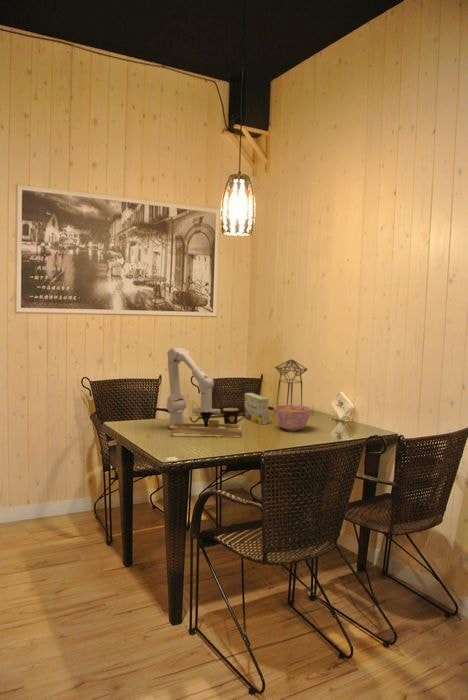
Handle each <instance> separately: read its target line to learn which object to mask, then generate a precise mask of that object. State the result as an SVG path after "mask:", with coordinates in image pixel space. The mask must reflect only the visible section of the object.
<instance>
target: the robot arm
mask: <svg viewBox="0 0 468 700" xmlns="http://www.w3.org/2000/svg"><path fill="white" fill-rule="evenodd" d="M181 362H184V364H185V365H186V366H187V367H188V369H189V370H191V375H192V376H193V378H194V379H195V380H196V381H197V383H198V388H199V392H200V408H192V409H191V412H192V414H200V416H201V418H202V421H203V424H204V425H205V427H207V426H208V424H209V420H210V418H211V416H212V414H218V415H219V414H221V409H220V408H212V407H213V406H212V405H213V403H212V402H213V399H212V398H213V395H212V393H213V387H215V381H214V380H215V379H214V378H213V377H211V376H208V374H207V373H206V372H205V371H204V369H203V368H202V367H200V366H197V364H196V363H195V361H194V360H193V358H192V357H191V355H190V351H189V350H188V348H187V347H184V346H183V347H171V348H170V349H169V350H168V351H167V368H168V369H167V370H168V380H169V391H170V395H169V396H168V397H167V399H166V409H167V411H168V413H169V426H170V425H172V426H174V423H184V412H185V410H186V408H187V402H186V400H185V396H184V395H183V394H182V392H181V383H180V374H179V373H180V372H179V371H180V370H179V365H180V363H181Z"/></svg>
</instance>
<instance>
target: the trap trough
mask: <svg viewBox="0 0 468 700" xmlns="http://www.w3.org/2000/svg"><path fill="white" fill-rule="evenodd" d="M172 433H185V434H200V435H223V436H241V437H242V423H237V424H224V423H219V428H209V423H208V426H207V427H205V425H204V423H197V422H196V423H194V422H193V423H186V422H183V423H174V427H172V429H171V434H172Z"/></svg>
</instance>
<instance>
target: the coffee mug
mask: <svg viewBox="0 0 468 700" xmlns="http://www.w3.org/2000/svg"><path fill="white" fill-rule="evenodd" d="M222 412H223V413H222V415H223V422H224V423H223V424H238V423H239V422H240V421H242V420H243V419H244V418H245V411H242V410H241V411H239V408H237V407H225V408H222ZM241 413H243V416H242V417H241V418H240V419H238V417H239V414H241Z"/></svg>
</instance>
